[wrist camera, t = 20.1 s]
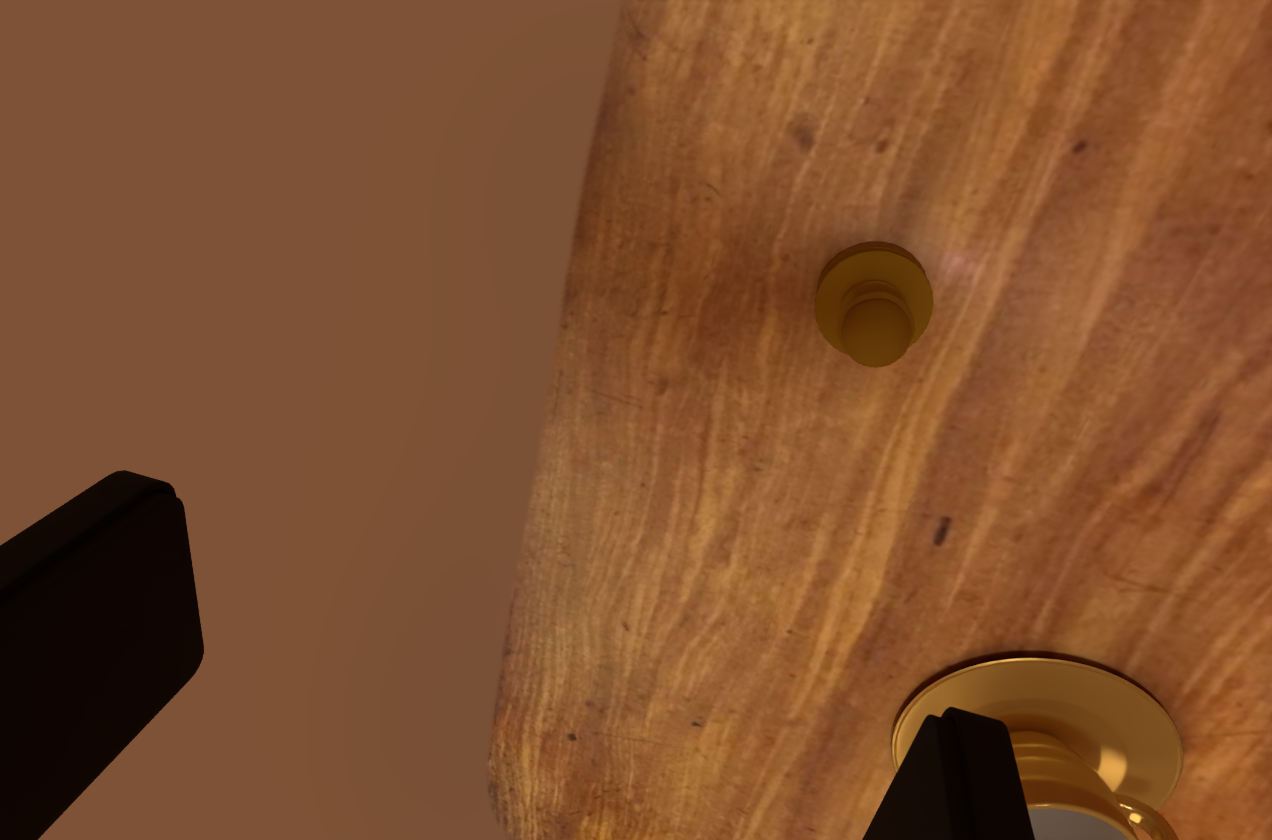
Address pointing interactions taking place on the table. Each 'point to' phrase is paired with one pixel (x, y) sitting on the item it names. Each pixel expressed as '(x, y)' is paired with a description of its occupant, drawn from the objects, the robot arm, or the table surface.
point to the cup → (1068, 743)
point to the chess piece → (873, 302)
